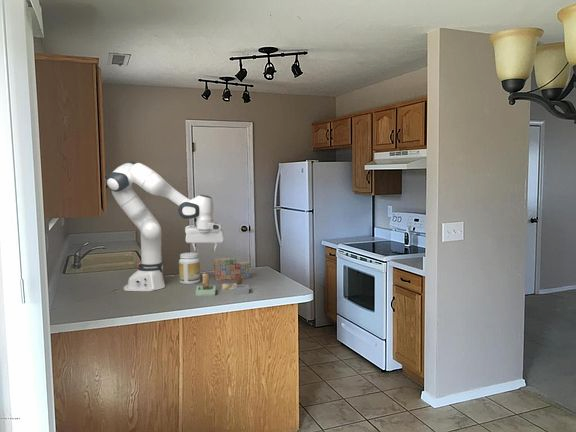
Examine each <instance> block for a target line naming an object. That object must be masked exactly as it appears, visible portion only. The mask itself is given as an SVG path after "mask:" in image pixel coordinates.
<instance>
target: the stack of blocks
mask: <svg viewBox="0 0 576 432" xmlns="http://www.w3.org/2000/svg"><path fill="white" fill-rule="evenodd" d="M236 260H237V259H236V258H234V257H222V258H214V259H213V272H214V273H213V275H214V280H215V279H216V280H215V281H224V280H223V279H229V280H237V279H236V278H237V277H242V279H250V278H251V263H250V262H249V261H236Z"/></svg>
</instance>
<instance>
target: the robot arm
mask: <svg viewBox="0 0 576 432" xmlns="http://www.w3.org/2000/svg"><path fill="white" fill-rule="evenodd" d="M105 184H106V187H108V189H109V190H110V191H111V195H112V196H113V198H114V200H115V202H116V203H117V204H118V206H119V207H120V209H122V211H123V213H124V214H126V216H127V217H128V219H129V220H130V221H131V222H132V223H133V224H134V225H135V227H136V228H137V229H138V230H139V232H140V255H141V256H140V258H141V259H140V260H141V262H139V263H138V264H137V269H138V270H136V271H135V272H134V273H133V274H131V275H130V276H129V278H128V280H127V284H126V285H125V286H124V287H123V291H126V292H152V291H156V290H161V289H164V288H165V287H166V284H165V280H164V274H163V272H164V265H163V264H164V263H163V260H162V259H163V258H162V227H161V226H162V225H160V223H159V221H158V219H156V217H155V215H153V213H152V212H151V211H150V210H149V207H147V206H146V204H145V203H144V202H143V200H142V199H141V198H140V197H139V195H138V194H137V193H136V191H135V190H134V188H133V187H132V185H133V184H136V185H137V186H138V187H140V188H141V189H143V190H144V191H145V192H147V193H148V194H150V195H152V196H158V197H159V196H160V197H164V198H166V199H168V200H169V201H171V202H172V203H174V204H175V205H177V206H178V208H177V210H178V215H179V216H180V217H181V218H182V219H184V220H191V219H195V220H196V225H195V224H194V225H189V224H188V225H187V226H186V227H184V232H185V242H186V244H192V248H193V251H194V252H198V247H196V244H214V247H212V252H216V248H217V246H218V244H223V243H224V242H225V236H224V230H223V229H222V227H223V226H222V224H220V223H217V222H214V217H213V215H214V201H213V198H212V197H211V196H209V195H208V194H207V195H206V194H198V195H196V196H195V197H193V198H189V197H187V196H186V195H184V194H182V193H181V192H180V191H178V190H177V189H176V188H174V187H173V186H172V185H171V184H170V183H168V182H167V181H166V179H164V178H163V177H162V176H161V175H160V174H158V173H157V172H156V171H155V170H154V169H152V168H150V167H149V166H148V165H145V164H143V163H141V162H135V161H133V160H132V161H131V160H130V161H126V162H124V163H122V164H121V165H119V166H117V167H116V168H115V169H114V170H113V171H112V172H110V173H108V175H107V176H106V178H105Z"/></svg>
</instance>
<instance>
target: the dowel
mask: <svg viewBox="0 0 576 432" xmlns="http://www.w3.org/2000/svg"><path fill="white" fill-rule="evenodd" d="M209 278H210V276H209V273H207V272H206V273H202V286H203V290H209V285H210V280H209Z"/></svg>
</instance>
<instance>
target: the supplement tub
mask: <svg viewBox="0 0 576 432" xmlns="http://www.w3.org/2000/svg"><path fill="white" fill-rule="evenodd" d="M179 258H180V259H179V260H178V273H179V275H178V276H179V283H180V284H181V285H194V284H198V283H199V282H201V260H200V258H199V253H198V252H183V253H180V254H179Z"/></svg>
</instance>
